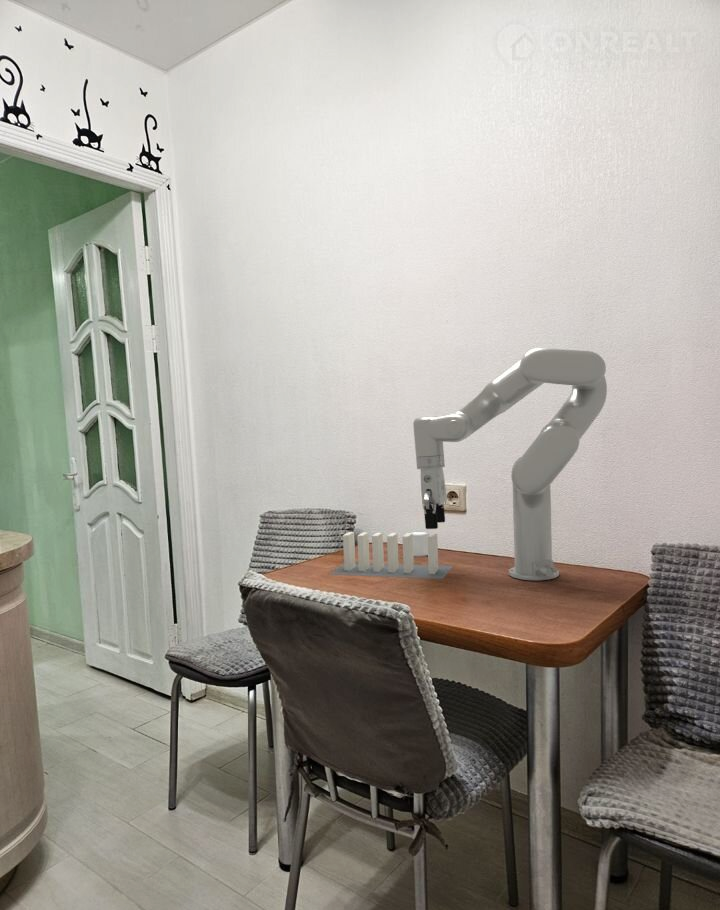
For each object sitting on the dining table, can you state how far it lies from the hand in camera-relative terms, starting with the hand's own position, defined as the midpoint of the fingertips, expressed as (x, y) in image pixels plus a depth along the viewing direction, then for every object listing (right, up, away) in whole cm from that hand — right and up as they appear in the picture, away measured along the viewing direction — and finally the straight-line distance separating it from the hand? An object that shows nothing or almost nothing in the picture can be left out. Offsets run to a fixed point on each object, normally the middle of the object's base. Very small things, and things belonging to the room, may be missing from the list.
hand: (435, 525), depth 175 cm
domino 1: (-23, -13, +9) cm, 28 cm away
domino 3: (-15, -13, +6) cm, 21 cm away
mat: (-12, -13, +5) cm, 18 cm away
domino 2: (-19, -13, +7) cm, 24 cm away
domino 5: (-7, -13, +3) cm, 15 cm away
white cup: (-2, -12, +24) cm, 27 cm away
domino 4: (-11, -13, +5) cm, 18 cm away
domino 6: (0, -13, +1) cm, 13 cm away
